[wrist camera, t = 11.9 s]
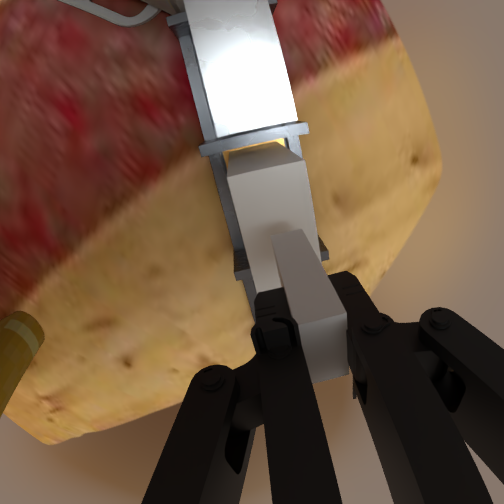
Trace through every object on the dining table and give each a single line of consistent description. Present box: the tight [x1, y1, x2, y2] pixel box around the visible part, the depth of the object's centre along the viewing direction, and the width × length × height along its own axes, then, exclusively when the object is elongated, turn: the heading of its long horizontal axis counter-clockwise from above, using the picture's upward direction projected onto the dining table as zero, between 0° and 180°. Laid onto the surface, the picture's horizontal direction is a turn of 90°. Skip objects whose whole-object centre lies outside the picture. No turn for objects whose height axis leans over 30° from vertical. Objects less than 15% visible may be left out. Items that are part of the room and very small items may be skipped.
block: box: [227, 141, 322, 294], centre depth 22 cm, size 4×8×11 cm, turn 13°
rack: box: [166, 0, 329, 324], centre depth 22 cm, size 8×31×12 cm, turn 13°
